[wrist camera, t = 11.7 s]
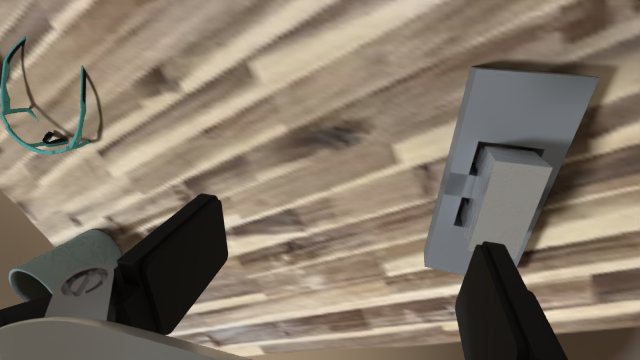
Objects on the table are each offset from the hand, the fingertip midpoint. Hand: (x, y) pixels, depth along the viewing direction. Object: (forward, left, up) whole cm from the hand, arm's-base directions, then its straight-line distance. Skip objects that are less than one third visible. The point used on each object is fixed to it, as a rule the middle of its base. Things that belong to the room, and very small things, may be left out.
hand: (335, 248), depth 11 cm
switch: (+6, +12, -24) cm, 27 cm away
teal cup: (+32, -49, -24) cm, 63 cm away
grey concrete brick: (+6, +12, -24) cm, 27 cm away
